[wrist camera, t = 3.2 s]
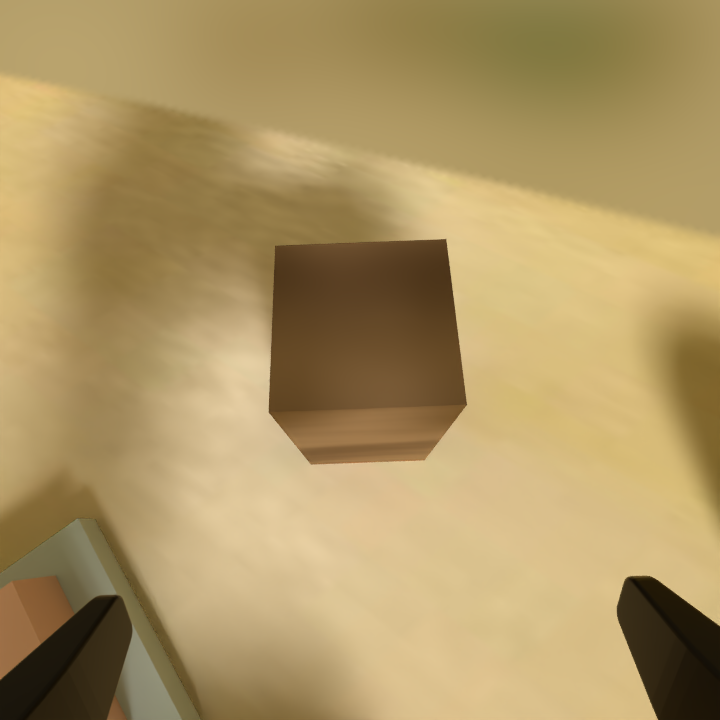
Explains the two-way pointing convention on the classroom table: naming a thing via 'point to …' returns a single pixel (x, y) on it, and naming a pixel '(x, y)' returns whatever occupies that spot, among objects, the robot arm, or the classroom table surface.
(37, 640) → the terracotta tile
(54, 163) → the classroom table surface
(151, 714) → the grey flat square slab
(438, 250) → the walnut pillar
